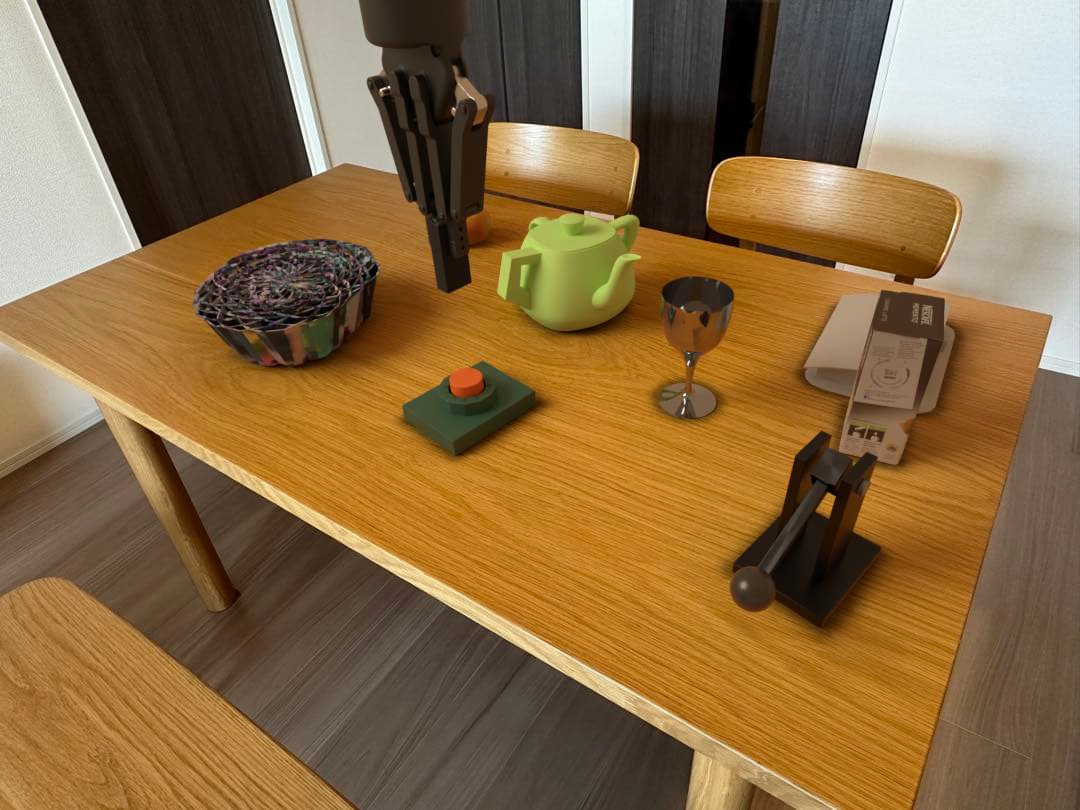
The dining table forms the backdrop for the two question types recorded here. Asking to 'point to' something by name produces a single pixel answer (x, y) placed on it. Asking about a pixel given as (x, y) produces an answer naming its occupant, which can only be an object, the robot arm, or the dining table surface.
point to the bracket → (819, 540)
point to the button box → (469, 409)
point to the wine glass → (693, 337)
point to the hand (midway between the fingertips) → (454, 285)
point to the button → (466, 383)
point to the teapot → (572, 270)
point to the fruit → (478, 226)
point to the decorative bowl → (290, 299)
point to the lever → (788, 535)
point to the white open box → (845, 344)
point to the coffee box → (893, 374)
